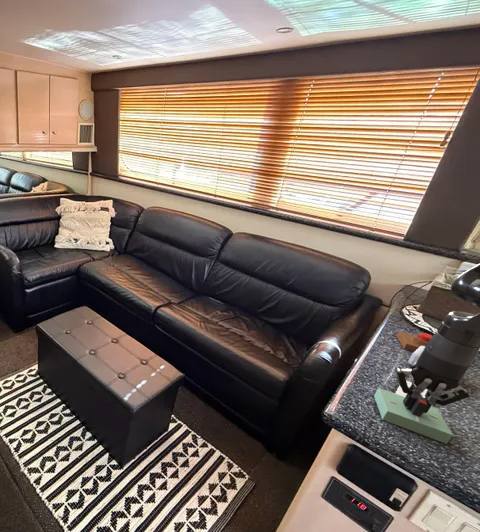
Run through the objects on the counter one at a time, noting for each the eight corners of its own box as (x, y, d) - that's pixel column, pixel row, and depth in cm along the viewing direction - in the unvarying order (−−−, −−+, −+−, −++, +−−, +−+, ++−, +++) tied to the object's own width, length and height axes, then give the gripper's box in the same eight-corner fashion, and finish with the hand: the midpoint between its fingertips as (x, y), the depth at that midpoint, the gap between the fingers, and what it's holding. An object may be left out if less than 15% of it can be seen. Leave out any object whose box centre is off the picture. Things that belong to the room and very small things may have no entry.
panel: (431, 416, 84) (437, 407, 83) (446, 444, 76) (453, 434, 75) (373, 395, 89) (378, 387, 88) (382, 419, 81) (387, 410, 80)
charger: (400, 368, 102) (414, 355, 110) (440, 387, 95) (452, 372, 103) (407, 357, 100) (421, 344, 108) (449, 375, 93) (460, 360, 101)
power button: (432, 339, 114) (434, 335, 113) (436, 344, 111) (438, 340, 110) (417, 335, 116) (419, 331, 115) (420, 340, 113) (423, 336, 112)
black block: (405, 401, 84) (413, 390, 82) (413, 404, 83) (421, 392, 82) (411, 414, 80) (419, 402, 78) (420, 417, 79) (428, 405, 78)
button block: (439, 348, 116) (444, 339, 115) (450, 362, 108) (456, 352, 107) (396, 336, 122) (401, 327, 120) (403, 348, 114) (409, 339, 112)
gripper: (481, 357, 75) (443, 412, 81) (404, 336, 81) (375, 388, 88) (498, 375, 69) (456, 433, 75) (414, 351, 75) (381, 406, 82)
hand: (412, 409), depth 81 cm, fingers closed on black block, 2 cm apart
